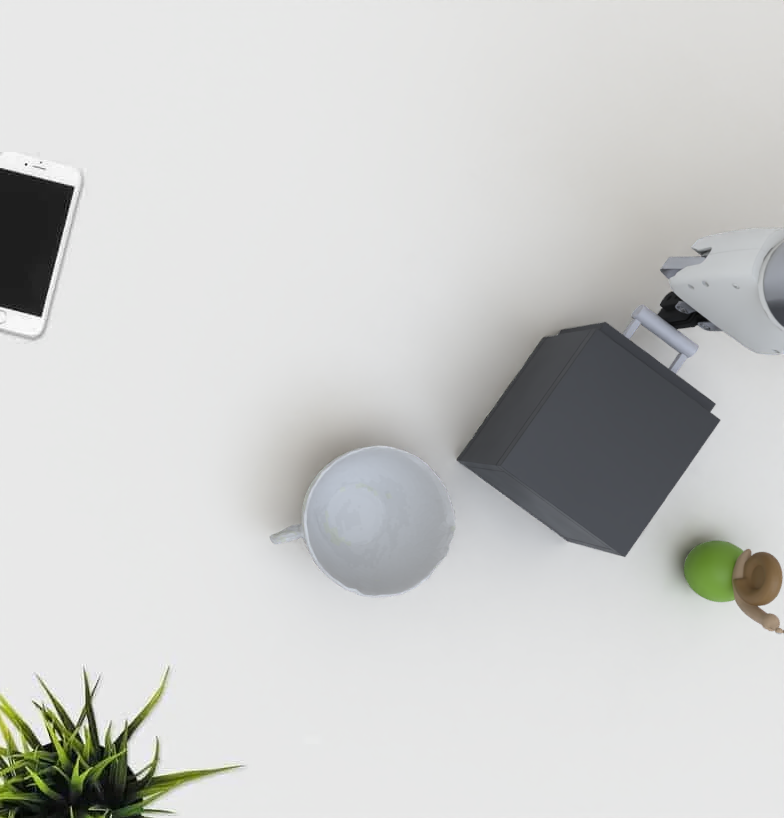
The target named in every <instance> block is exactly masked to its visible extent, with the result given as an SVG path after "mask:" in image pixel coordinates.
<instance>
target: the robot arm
mask: <svg viewBox="0 0 784 818" xmlns="http://www.w3.org/2000/svg"><path fill="white" fill-rule="evenodd" d="M690 249H692V251H694V252H695V253H697V254H698V255H699V256H698V255H697V256H695V255H693V256H668V258H667V259H666V260H665V261H664V263H663V264H662V266H661V267H660V269H659V271H660V273H661V274H662V275H663V276H664V277H665V278H666V279H668V283H669V287H670V290H671V291H669V292H668V293H666V295H664V297H663V298H662V300H661V301H660V303H659V307H660V309H659V311H658V312H657V313H656V314H657V315H658V316H660V317H661V318H662V319H664V320H665V321H666V322H668V323H669V324H670V325H672V326H673V327H674V328H676V329H677V330H684V329H689V328H695V327H697V326H698V328H700V329H702V330H704V331H707V332H724V333H725V334H726V335H728V336H729V337H730V338H731V339H733V340H735V341H736V342H738V344H739V345H741V346H743V347H744V348H746V349H748V350H749V351H751V352H753V353H755V354H758V355H768V356H769V355H771V356H773V355H774V356H775V355H784V227H774V226H773V227H751V228H742V229H735V230H729V231H724V232H719V233H715V234H710V235H706V236H702V237H699V238H698V239H697V240H696V241H695V242H694V243H693V244H692V245H691V247H690Z"/></svg>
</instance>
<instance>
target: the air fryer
mask: <svg viewBox="0 0 784 818" xmlns="http://www.w3.org/2000/svg"><path fill="white" fill-rule="evenodd" d="M483 420H484V421H482V423H481V425H480V426H479V427H478V429H477V430H476V432H475V433H474V434H473V436H472V437H471V438H470V440H469V442H468V443H467V444H466V446H465V447H464V449H463V450H462V451H461V453H460V454H459V456H458V457H457V459H456V461H457V462H458V463H460V464H461V465H462V466H463V467H465V468H466V469H468V470H470V472H472V473H473V474H475V475H476V476H477V477H478V478H480V479H481V480H483V481H484V482H486V483H487V484H488V485H490V486H491V487H493V488H494V489H495V490H497V491H498V492H499V493H501V494H502V495H503V496H504V497H506V498H507V499H509V500H511V501H512V502H513V503H514V504H516V505H517V506H519V508H521V509H523V510H524V511H525V512H526V513H528V514H529V515H530V516H532V517H534V518H535V519H536V520H538V521H539V522H540V523H541V524H543V525H545V526H546V527H547V528H549V529H550V530H551V531H552V532H554V533H555V534H557V535H558V536H559V537H561V538H562V539H564V540H565V541H566V542H568V543H571V544H575V545H579V546H583V547H586V548H590V549H593V550H597V551H600V552H605V553H609V554H611V555H616V556H620V557H623V558H626V557H627V555H628V553H630V551H631V549H632V548H633V547H634V545H635V544H636V542H637V541H638V539H639V538H640V537H641V535H642V534H643V533H644V531H645V530H646V529H647V527H648V525H649V524H650V522H651V520H653V518H654V517H655V516H656V514H657V512H658V511H659V509H660V508H661V507H662V506H663V504H664V502H665V501H666V499H667V498H668V496H669V495H670V494H671V493H672V491H673V489H675V486H676V485H677V484H678V482H679V481H680V479H681V478H682V476H683V475H684V473H685V472H686V471H687V469H688V468H689V467H690V465H691V464H692V462H693V461H694V459H695V458H696V456H698V454H699V453H700V451H701V450H702V448H703V447H704V445H705V444H706V443H707V440H709V438H710V436H711V435H712V433H713V432H714V430H715V429H716V428H717V427H718V425H719V423H720V422H721V418H719V417H718V416H716V415H715V414H714V413H712V411H711V412H709V411H708V410H707V409H705V408H704V407H703V406H701V405H700V404H699V403H697V402H696V401H695V400H693V399H692V398H691V397H689V396H688V395H687V394H685V393H684V392H683V391H681V390H680V389H678V388H677V387H676V386H674V385H673V384H672V383H670V382H669V381H668V380H666V379H665V378H664V377H662V376H661V375H660V374H658V373H657V372H656V371H654V370H653V369H652V368H650V367H649V366H647V365H646V364H645V363H643V362H642V361H641V360H639V359H638V358H637V357H635V356H634V355H633V354H631V353H630V352H629V351H627V350H626V349H625V348H623V347H622V346H620V345H619V344H618V343H616V342H615V341H614V340H612V339H611V338H610V337H608V336H607V335H606V334H604V333H603V332H602V331H600V330H599V329H598V328H596V329H589V330H583V331H577V332H571V333H565V334H560V335H558V334H554V335H549V336H543V337H542V338H541V339H540V341H539V342H538V344H537V345H536V347H535V348H534V349H533V351H532V353H531V354H530V355H529V356H528V358H527V359H526V361H525V362H524V363H523V365H522V367H521V368H520V369H519V371H518V372H517V374H516V375H515V377H514V378H513V379H512V381H511V382H510V383H509V385H508V387H507V388H506V389H505V391H504V392H503V394H502V395H501V396H500V397H499V399H498V400H497V402H496V403H495V405H494V406H493V408H492V409H491V411H490V412H489V413H488V415H487V416H486V417H485V419H483Z"/></svg>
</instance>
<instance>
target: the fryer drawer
mask: <svg viewBox="0 0 784 818" xmlns="http://www.w3.org/2000/svg"><path fill="white" fill-rule="evenodd" d="M657 314H658V313H656V312H654V311H653V310H651V309H650V308H649V307H648V306H646V305H645V304H639V305H638V306H637V307H636V308H635V309H634V310H633V311H632V313H631V315H630V317H631V318H632V319H631V321H630V322H629V324H628V325H627V326H626V328H625V329H624V331H623V332H620V331H618V330H617V329H616V328H615V327H613V325H611V324H609V323H608V322H607V321H602V322H596V323H591V324H585V325H579V326H574V327H573V326H572V327H568V328H563V329H560V330H559V332H558V333H557V335H560V334H565V333H571V332H577V331H583V330H589V329H596V328H598V329H599V330H600V331H602V332H603V333H604V334H606V335H607V336H608V337H610V338H611V339H612V340H614V341H615V342H616V343H618V344H619V345H620V346H622V347H623V348H625V349H626V350H627V351H629V352H630V353H631V354H633V355H634V356H635V357H637V358H638V359H639V360H641V361H642V362H643V363H645V364H646V365H647V366H649V367H650V368H652V369H653V370H654V371H656V372H657V373H658V374H660V375H661V376H662V377H664V378H665V379H666V380H668V381H669V382H670V383H672V384H673V385H674V386H676V387H677V388H678V389H680V390H681V391H683V392H684V393H685V394H687V395H688V396H689V397H691V398H692V399H693V400H695V401H696V402H697V403H699V404H700V405H701V406H703V407H704V408H705V409H707V410H708V411H709V412H711V413H712V411H713V409H714V408H715V407H716V402H714V401H713V400H712V399H710V398H709V397H708V396H707V395H705V394H704V393H702V392H701V391H700V390H698V389H697V388H695V386H693V385H691V384H690V383H688V382H687V381H686V380H685V379H683V378H682V377H681V376H679V375H678V374H677V373H678V372H679V370H680V369H681V368H682V366H683V365H684V363H685V361H686V360H687V359H690V358H691V357H693V356H694V355H695V354H697V352H698V350H699V349H700V348H699V345H698V343H696V342H695V341H693V340H692V339H691V338H689V336H687V335H685V334H684V333H682V332H681V331H680V330H679V329H676V328H674V327H673V326H672V325H670V324H669V323H668V322H666V321H665V320H664V319H662V318H661V317H660V316H658V315H657ZM640 325H641V326H643V328H645V329H646V330H647V331H649V332H650V333H652V334H653V335H654V336H656V337H657V338H659V339H660V340H661V341H663V342H664V343H665V344H666V345H668V346H669V347H671V349H673V350H675V351H676V352H677V355H676V356H675V358H674V359H673V361H672V362H671V363H670V365H669V367H668V366H666V365H664V363H662V362H660V361H659V360H658V359H657V358H655V357H654V356H653V355H651V354H650V353H648V352H647V351H646V350H644V349H643V348H641V346H639V345H637V343H635V342H634V341H632V340H631V338H632V337H633V335H634V334H635V333H636V331H637V329H638V328H639V326H640Z"/></svg>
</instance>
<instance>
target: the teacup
mask: <svg viewBox="0 0 784 818" xmlns="http://www.w3.org/2000/svg"><path fill="white" fill-rule="evenodd" d="M300 518H301V520H300V521H301V523H298V524H292V525H289V526H287V527H286V528H284V529H282V530H280V531H278V532H275V533H273V534H270V535H269V540H270V541H271V543H272V544H274V545H280V544H284V543H290V542H292V541H295V540H298V539H303V541H304V543H305V545H306V548H307V551H308V553H309V556H310V557H311V559H312V560H313V562H314V564H315V565H316V566H317V567H318V568H319V570H320V571H321V572H322V573H323V574H324V575H325V576H326V577H327V578H328V579H329V580H331V581H332V582H333V583H335V584H336V585H338V586H339V587H341V589H343V590H345V591H349V592H350V593H354V594H355V595H357V596H360V597H363V598H375V599H376V598H389V597H397V596H400V595H402V594H406V593H408V592H410V591H412V590H414V589H416V588H418V586H420V585H421V584H422V583H425V581H427V580H429V579H430V578H431V576H432V575H433V573H434V572H435V571H436V569H437V568H438V567H439V565H440V564H441V563H442V562H443V560H444V559H445V558H446V557H447V556H448V554H449V550H450V546H451V543H452V541H453V539H454V536H455V535H454V534H455V531H456V528H457V527H456V515H455V510H454V506H453V504H452V499H451V496H450V494H449V491H448V489H447V487H446V485H445V484H444V482H443V481H442V479H441V478H440V476H439V475H438V474H437V473H436V472H435V471H434V470H433V469H432V468H431V466H430V465H429V464H428V463H427V462H425V461H424V460H423V459H422V458H420V457H419V456H418V455H416V454H414V453H413V452H410V451H408V450H404V449H402V448H398V447H393V446H389V445H370V446H364V447H359V448H354V449H352V450H349V451H347V452H345V453H343V454H340V455H338V456H336V457H335V458H334V459H333V460H331V461H329V462H328V463H327V464H325V466H324V467H322V469H321V470H320V471H319V472H318V473H317V474H316V475H315V476H314V478H313V479H312V481H311V483H310V485H309V487H308V489H307V491H306V493H305V496H304V499H303V502H302V507H301V517H300Z"/></svg>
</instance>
